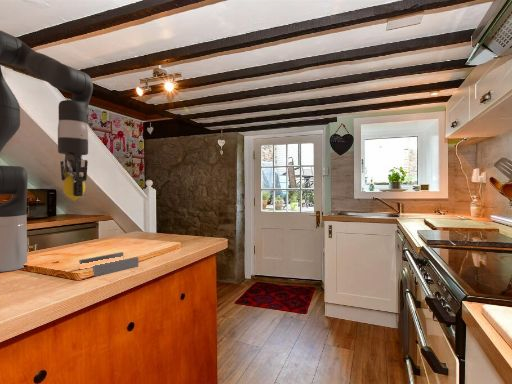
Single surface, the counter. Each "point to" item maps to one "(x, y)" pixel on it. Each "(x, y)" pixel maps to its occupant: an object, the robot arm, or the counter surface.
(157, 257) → the counter surface
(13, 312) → the counter surface
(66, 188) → the lemon
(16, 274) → the counter surface
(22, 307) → the counter surface
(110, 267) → the guide channel
